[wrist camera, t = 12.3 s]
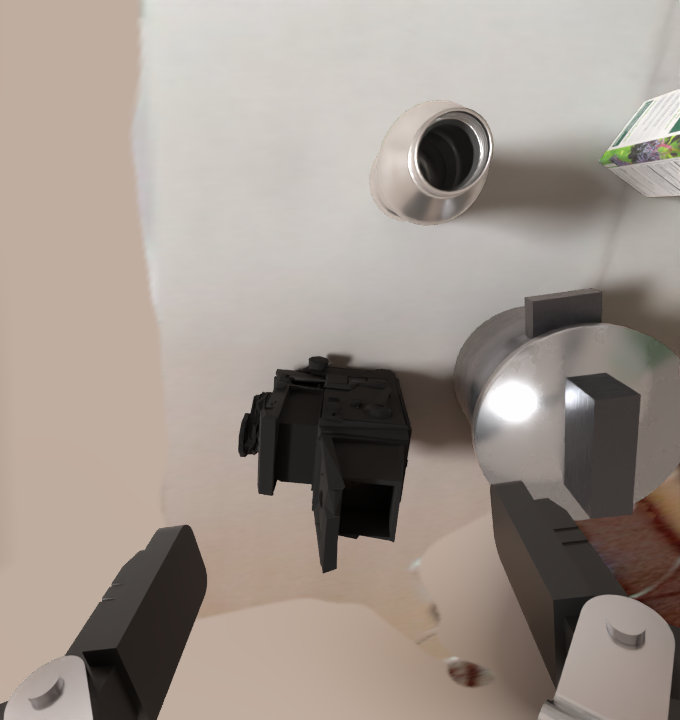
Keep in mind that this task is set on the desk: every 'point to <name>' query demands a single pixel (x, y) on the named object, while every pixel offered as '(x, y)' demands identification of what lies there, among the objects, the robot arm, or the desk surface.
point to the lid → (582, 418)
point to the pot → (517, 337)
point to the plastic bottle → (432, 163)
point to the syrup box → (650, 148)
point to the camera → (334, 447)
